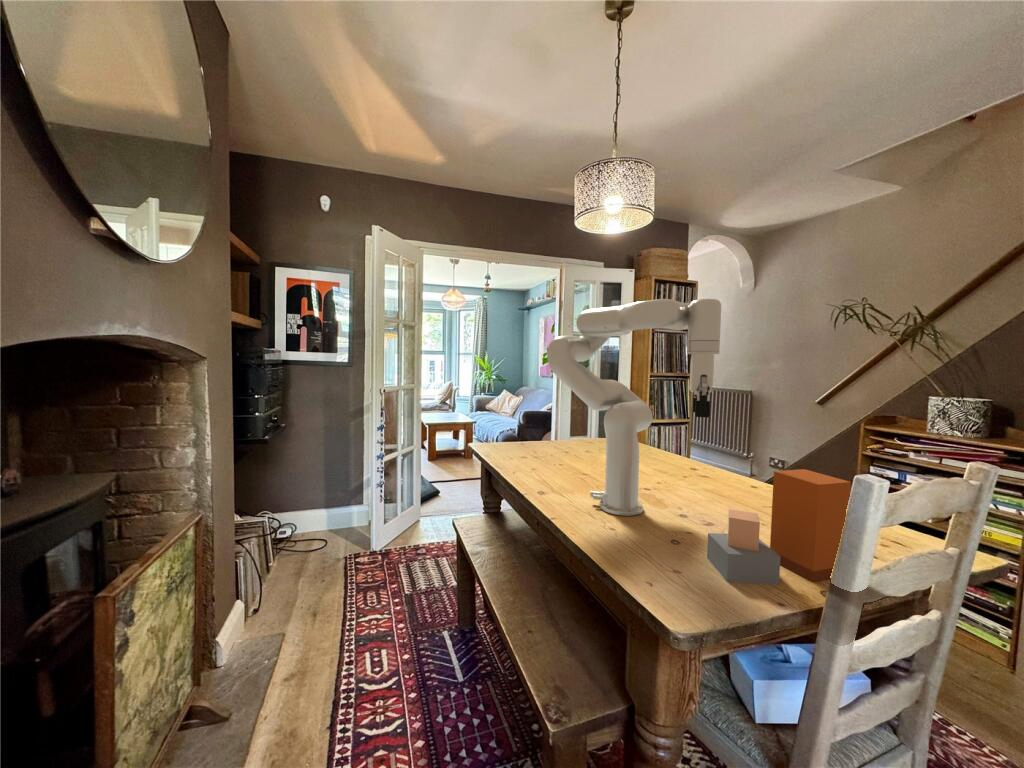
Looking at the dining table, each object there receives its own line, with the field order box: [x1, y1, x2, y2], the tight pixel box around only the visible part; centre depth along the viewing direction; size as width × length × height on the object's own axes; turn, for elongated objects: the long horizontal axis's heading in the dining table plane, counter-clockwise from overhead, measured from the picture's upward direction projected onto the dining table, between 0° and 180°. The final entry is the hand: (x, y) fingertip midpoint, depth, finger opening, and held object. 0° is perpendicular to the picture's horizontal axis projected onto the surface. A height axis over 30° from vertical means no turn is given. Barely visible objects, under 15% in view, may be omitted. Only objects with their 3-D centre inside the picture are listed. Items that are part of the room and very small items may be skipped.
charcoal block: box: [706, 532, 781, 585], centre depth 87 cm, size 10×10×6 cm
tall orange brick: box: [769, 468, 852, 582], centre depth 88 cm, size 10×9×20 cm
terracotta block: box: [726, 508, 761, 551], centre depth 87 cm, size 6×6×6 cm
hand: (700, 414), depth 106 cm, fingers open, 9 cm apart
